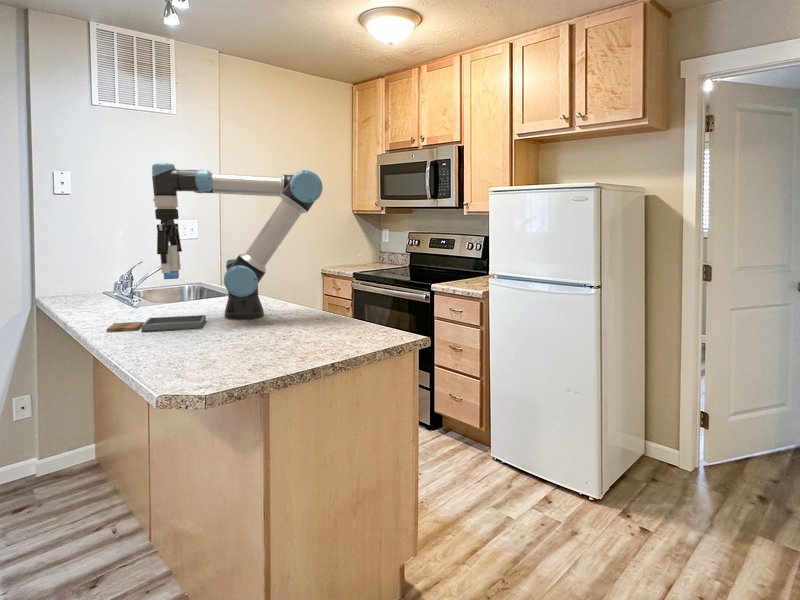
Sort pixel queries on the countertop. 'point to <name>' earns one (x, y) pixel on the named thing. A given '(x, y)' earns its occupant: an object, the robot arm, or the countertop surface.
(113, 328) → the board
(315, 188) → the robot arm
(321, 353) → the countertop surface
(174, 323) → the tray
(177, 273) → the ink box
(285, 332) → the countertop surface
